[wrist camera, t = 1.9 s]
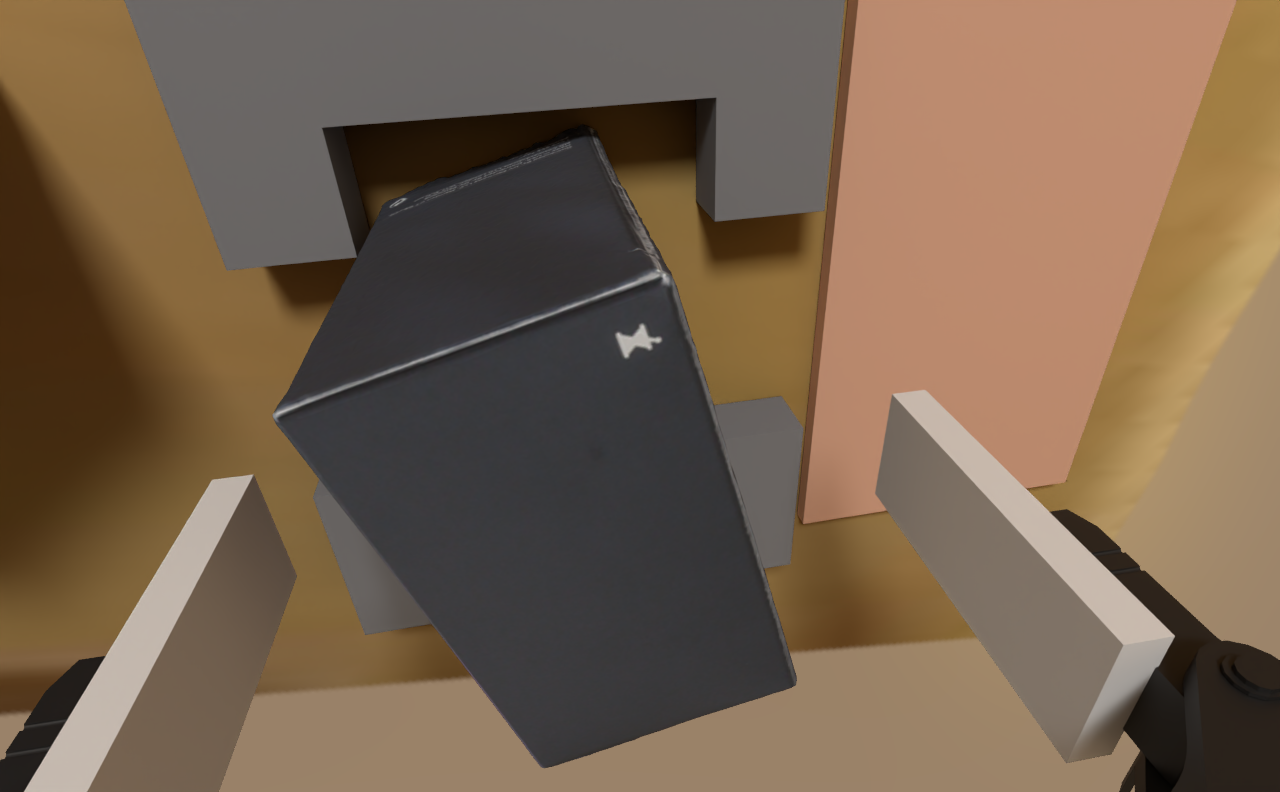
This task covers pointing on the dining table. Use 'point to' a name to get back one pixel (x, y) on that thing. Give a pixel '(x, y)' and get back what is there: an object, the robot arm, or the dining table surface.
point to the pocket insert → (486, 85)
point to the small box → (542, 453)
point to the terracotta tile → (991, 219)
